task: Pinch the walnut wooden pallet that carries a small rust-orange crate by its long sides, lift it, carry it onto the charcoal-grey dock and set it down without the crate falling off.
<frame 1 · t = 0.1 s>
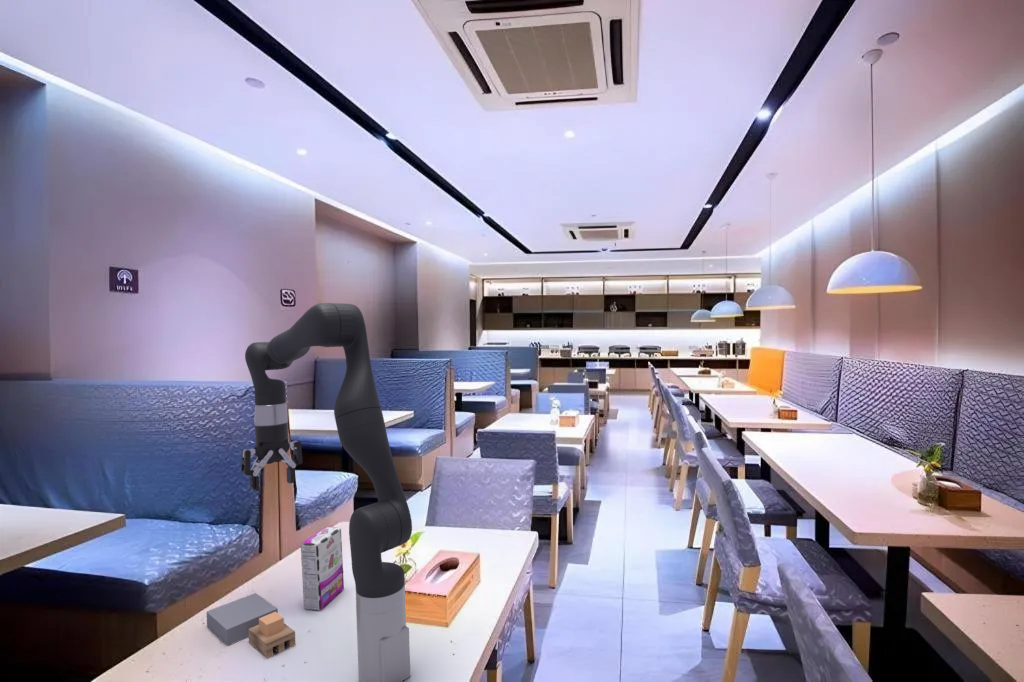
hand: (273, 486, 129), 29 cm above the table, tool pointing down, fingers open, 8 cm apart
candy bar box: (324, 600, 131), on the table
pallet: (272, 644, 112), on the table, touching crate
dock: (242, 625, 120), on the table
crate: (271, 630, 112), point 3 cm above the table, touching pallet
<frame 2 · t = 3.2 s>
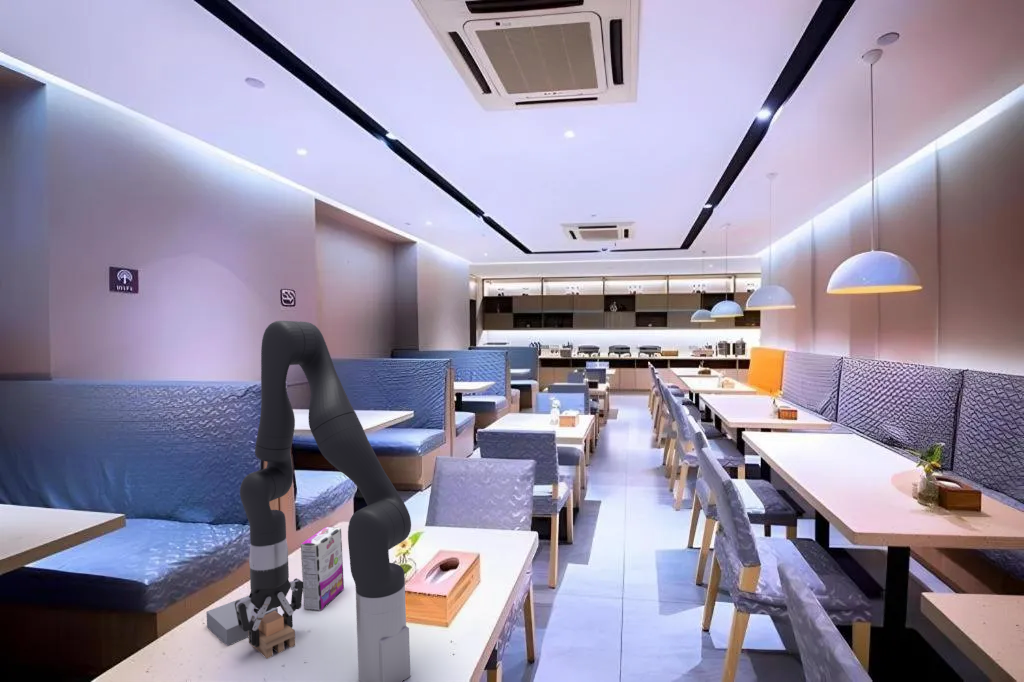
hand: (271, 638, 112), 1 cm above the table, tool pointing down, fingers closed on pallet, 6 cm apart
pallet: (271, 644, 112), on the table, touching crate, gripper
everything else where it was.
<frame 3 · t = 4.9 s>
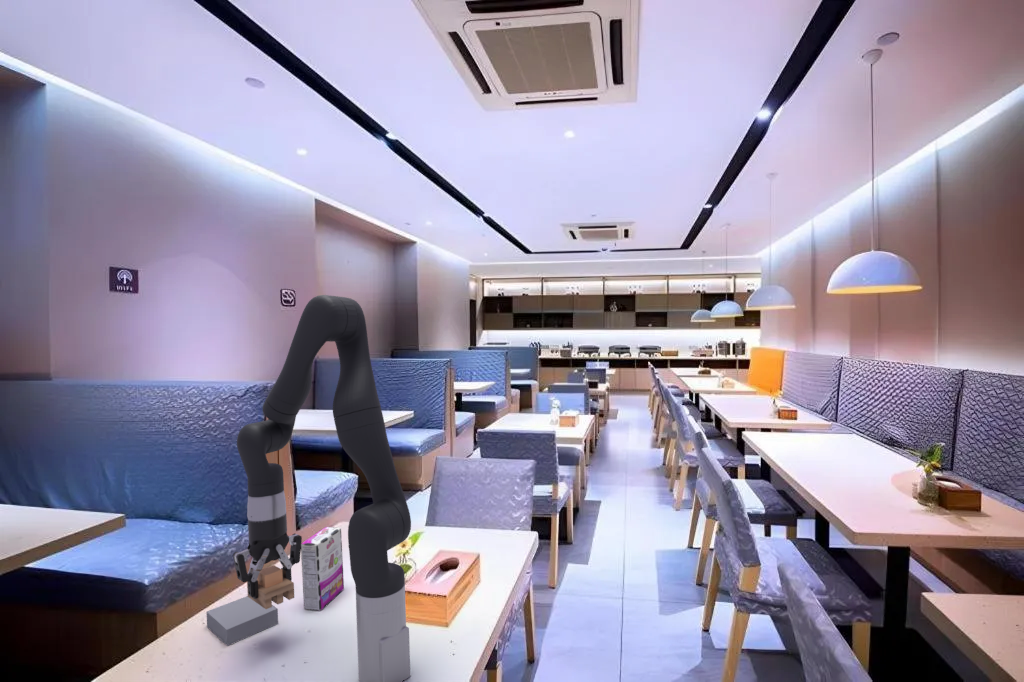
hand: (270, 591, 112), 11 cm above the table, tool pointing down, fingers closed on pallet, 6 cm apart
pallet: (270, 597, 112), point 10 cm above the table, touching crate, gripper
crate: (270, 582, 112), point 13 cm above the table, touching pallet
everything else where it was.
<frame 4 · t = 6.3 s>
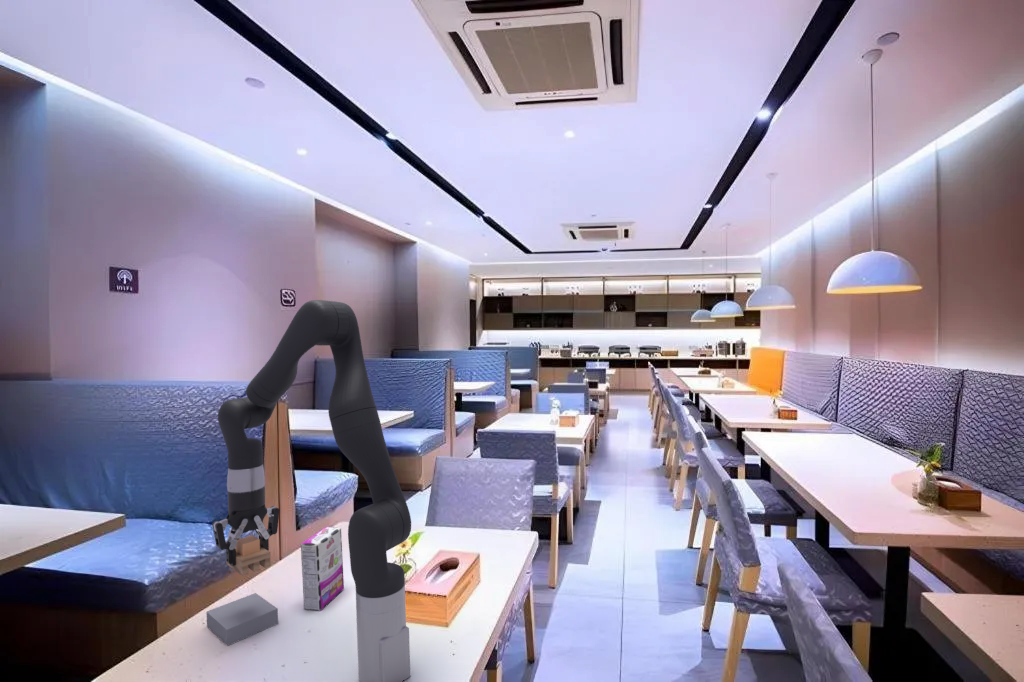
hand: (248, 559, 117), 16 cm above the table, tool pointing down, fingers closed on pallet, 6 cm apart
pallet: (248, 565, 117), point 15 cm above the table, touching crate, gripper
crate: (247, 551, 117), point 18 cm above the table, touching pallet
everything else where it was.
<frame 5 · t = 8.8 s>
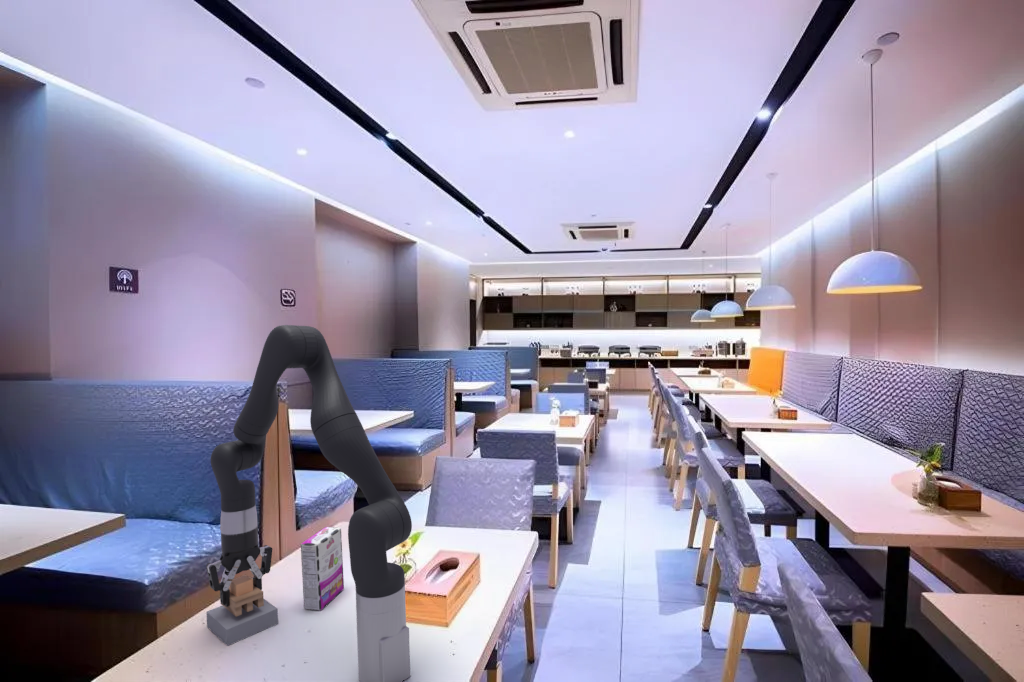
hand: (241, 599, 120), 6 cm above the table, tool pointing down, fingers closed on pallet, 6 cm apart
pallet: (242, 604, 120), point 5 cm above the table, touching crate, gripper
crate: (241, 590, 120), point 8 cm above the table, touching pallet
everything else where it was.
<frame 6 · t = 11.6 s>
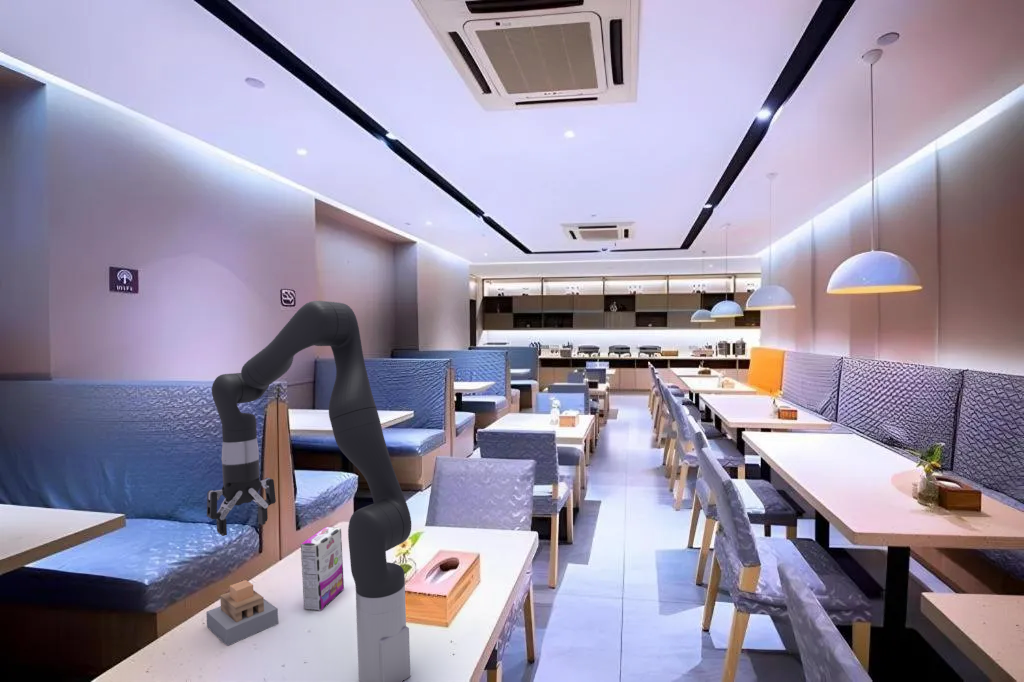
hand: (243, 529, 120), 22 cm above the table, tool pointing down, fingers open, 8 cm apart
pallet: (242, 610, 120), point 3 cm above the table, touching crate, dock
crate: (241, 596, 120), point 7 cm above the table, touching pallet
everything else where it was.
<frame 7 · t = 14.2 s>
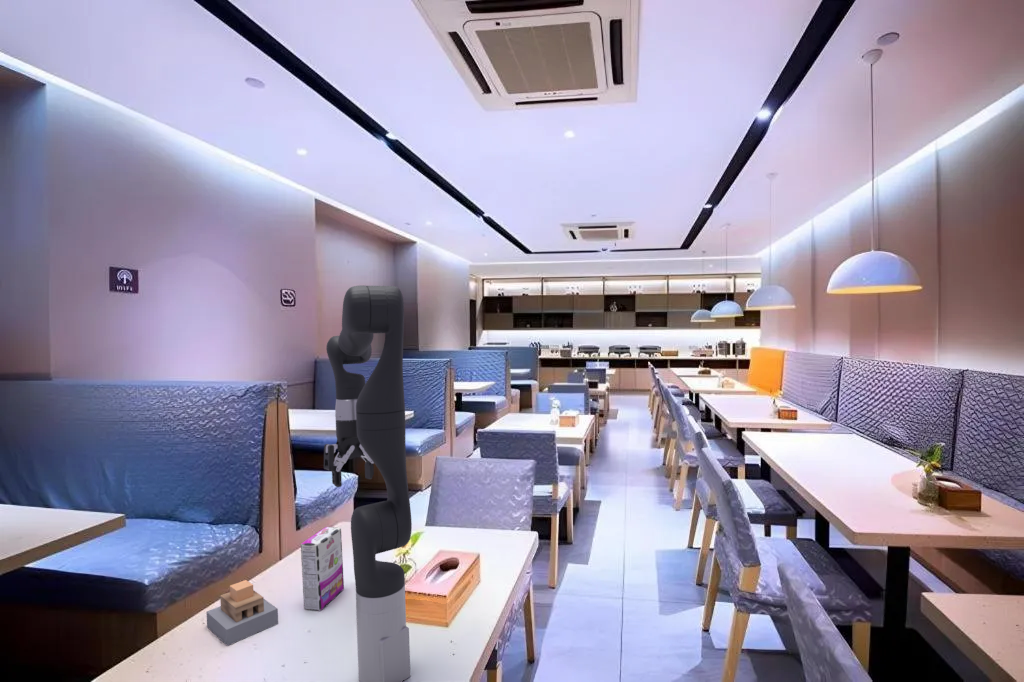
hand: (353, 482, 128), 30 cm above the table, tool pointing down, fingers open, 8 cm apart
nothing on the table moved.
at the end: pallet 0.1 cm off-centre on the dock, point 3.5 cm above the dock's base; crate 0.0 cm off-centre on the pallet, point 3.2 cm above the pallet's base; the gripper is holding nothing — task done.
